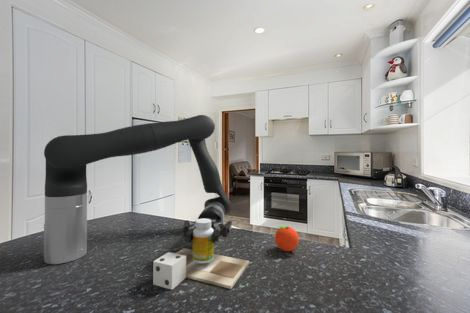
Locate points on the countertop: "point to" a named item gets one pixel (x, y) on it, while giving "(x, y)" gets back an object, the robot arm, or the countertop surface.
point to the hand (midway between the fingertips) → (201, 238)
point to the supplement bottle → (203, 241)
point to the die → (169, 270)
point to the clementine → (286, 238)
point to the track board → (214, 269)
